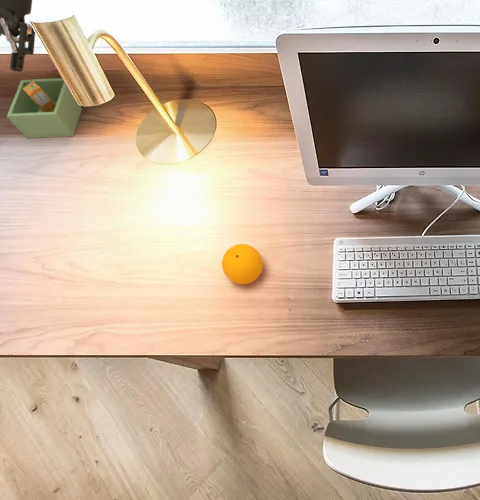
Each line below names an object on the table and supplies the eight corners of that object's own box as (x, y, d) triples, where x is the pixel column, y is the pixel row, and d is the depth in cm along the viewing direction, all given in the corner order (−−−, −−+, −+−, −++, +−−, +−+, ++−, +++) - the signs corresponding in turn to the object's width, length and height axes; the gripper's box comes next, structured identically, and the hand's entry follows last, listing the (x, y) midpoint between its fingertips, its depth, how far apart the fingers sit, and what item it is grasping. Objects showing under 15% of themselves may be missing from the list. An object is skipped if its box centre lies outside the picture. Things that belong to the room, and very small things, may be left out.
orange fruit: (273, 265, 101) (266, 248, 94) (249, 296, 98) (240, 280, 91) (243, 247, 103) (234, 229, 97) (219, 276, 100) (208, 260, 94)
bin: (27, 138, 120) (6, 116, 113) (39, 102, 125) (21, 79, 119) (73, 136, 120) (56, 114, 113) (84, 100, 125) (68, 77, 118)
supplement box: (46, 118, 122) (21, 87, 113) (58, 110, 123) (34, 79, 114) (53, 124, 121) (28, 94, 112) (65, 116, 122) (41, 85, 113)
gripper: (-31, -33, 99) (-37, 49, 104) (15, -10, 95) (6, 73, 100) (7, -22, 105) (0, 54, 111) (52, 0, 101) (42, 77, 107)
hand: (3, 63), depth 106 cm, fingers open, 8 cm apart
